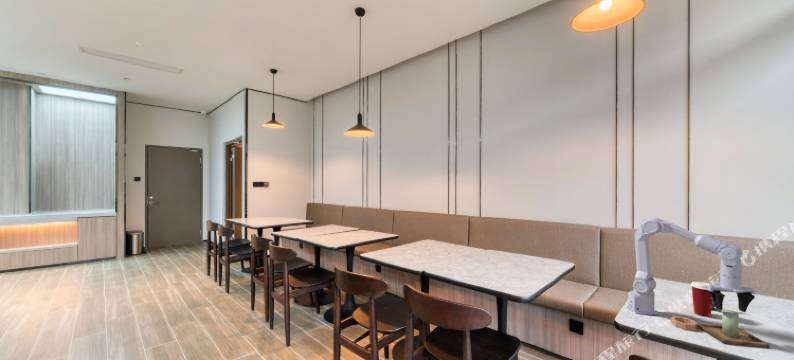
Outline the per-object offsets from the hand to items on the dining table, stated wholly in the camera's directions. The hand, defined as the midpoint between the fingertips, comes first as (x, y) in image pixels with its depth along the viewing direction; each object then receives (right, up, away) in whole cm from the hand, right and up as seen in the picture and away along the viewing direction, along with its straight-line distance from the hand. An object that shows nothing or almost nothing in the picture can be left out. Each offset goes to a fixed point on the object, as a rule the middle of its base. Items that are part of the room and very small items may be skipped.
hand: (730, 310), depth 120 cm
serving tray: (0, -10, 0) cm, 10 cm away
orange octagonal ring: (-10, -10, +8) cm, 17 cm away
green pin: (0, -10, 0) cm, 10 cm away
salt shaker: (+18, -10, +26) cm, 33 cm away
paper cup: (+8, -11, +20) cm, 24 cm away
